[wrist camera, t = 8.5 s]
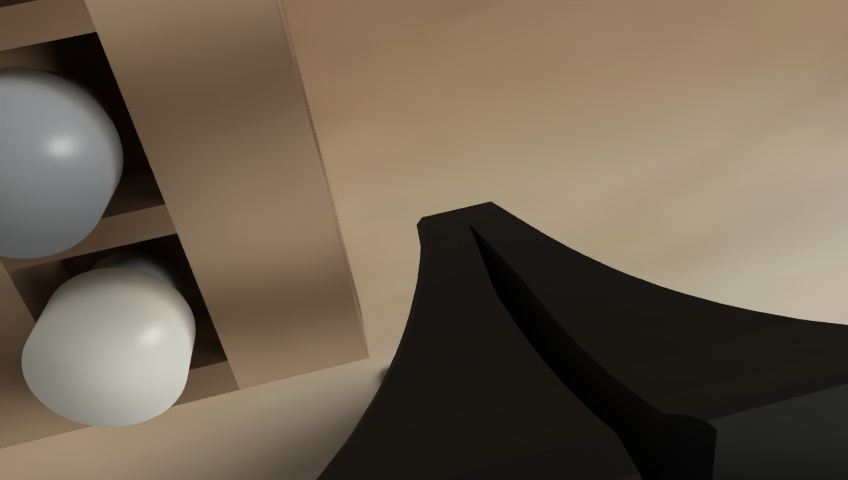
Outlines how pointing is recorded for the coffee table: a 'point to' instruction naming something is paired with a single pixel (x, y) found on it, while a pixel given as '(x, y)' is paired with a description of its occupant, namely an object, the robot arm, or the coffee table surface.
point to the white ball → (112, 343)
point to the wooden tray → (202, 195)
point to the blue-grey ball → (53, 161)
